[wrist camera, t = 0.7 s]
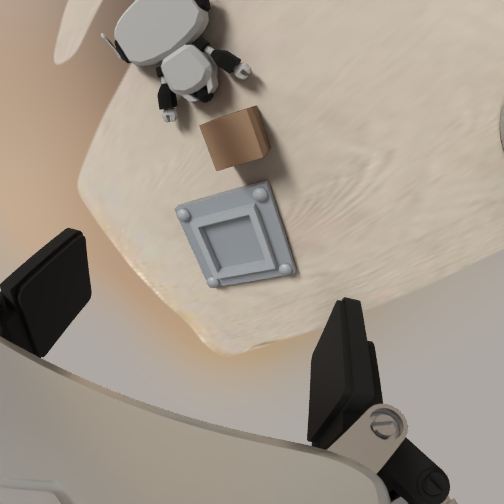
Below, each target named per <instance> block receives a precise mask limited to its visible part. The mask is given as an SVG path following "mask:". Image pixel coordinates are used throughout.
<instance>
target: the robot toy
mask: <svg viewBox="0 0 504 504" xmlns="http://www.w3.org/2000/svg"><path fill="white" fill-rule="evenodd" d="M210 9H211V8H210V3H209V0H136V1H135V2H134V3H133V4H132V5H131V6H130V7H129V8H128V9H127V10H126V11H125V12H124V14H123V15H122V16H121V18H120V19H119V21H118V23H117V25H116V28H115V39H116V40H115V46H116V48H115V47H114V46H113V45H112V43H111V42H110V41H109V40H108V38H107V37H106V35H105V34H103V33H101V36H102V37H103V38H104V39H105V40H106V41H107V42H108V44H109V45H110V46H111V47H112V48H113V50H114V51H115V52H116V53H117V56H118V57H119V58H122V59H123V60H124V61H126V62H127V63H133V64H135V65H137V66H146V65H154V64H158V63H160V62H162V65H161V67H157V68H156V71H157V76H158V77H161V82H162V84H161V87H160V89H159V92H158V102H159V109H164V111H163V114H162V117H163V119H164V121H165V122H170V117H171V122H174V121H175V120H176V119H177V112H176V110H175V109H174V108H173V107H176V106H178V105H177V98H176V94H177V95H181V96H183V97H184V98H185V99H187V100H188V101H189V102H191V101H198V100H200V101H201V102H204V103H206V102H209V101H211V99H212V98H213V93H212V92H215V90H216V89H217V87H218V86H219V84H218V79H217V73H218V68H217V66H219V67H220V68H222V69H224V70H225V71H227V72H228V73H232V72H233V73H234V74H235V76H236V78H238V79H241V80H244V79H246V78H247V77H248V76H246V75H244V74H243V73H241V72H242V71H243V70H244V71H246V72H247V73H248V74H250V73H251V67H250V66H249V65H248V64H246V63H240V62H241V59H239V58H238V57H236V56H235V55H233V54H231V53H230V52H228V51H225V50H215V49H213V48H211V47H210V43H209V42H208V41H206V40H204V39H202V38H199V39H198V40H197V41H196V43H195V44H194V45H191V44H192V43H193V42H194V41H195V40H196V39H197V38H198V37H199V36H200V35H201V34H202V33H203V32H204V30H205V29H206V27H207V24H208V22H209V17H208V11H209V10H210ZM209 54H210V55H211V56H210V55H209ZM211 57H212V58H211ZM169 115H170V116H169Z"/></svg>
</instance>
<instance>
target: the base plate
mask: <svg viewBox="0 0 504 504" xmlns="http://www.w3.org/2000/svg"><path fill="white" fill-rule="evenodd" d="M175 211H176V214H177V218H178V219H179V221H180V223H181V225H182V227H183V230H184V232H185V234H186V237H187V239H188V241H189V243H190V245H191V248H192V250H193V252H194V254H195V257H196V259H197V261H198V263H199V265H200V267H201V270H202V272H203V274H204V276H205V278H206V280H207V284H208V285H209V287H210V288H216V287H219V286H225V285H231V284H237V283H243V282H249V281H255V280H261V279H267V278H272V277H278V276H288V275H290V274H295V272H296V266H295V263H294V260H293V256H292V253H291V250H290V247H289V244H288V241H287V237H286V234H285V231H284V228H283V225H282V222H281V219H280V216H279V212H278V209H277V206H276V203H275V200H274V197H273V194H272V191H271V188H270V185H269V182H268V180H266V181H262V182H258V183H255V184H251V185H247V186H243V187H240V188H236V189H232V190H229V191H225V192H222V193H218V194H215V195H211V196H208V197H204V198H201V199H198V200H194V201H191V202H187V203H184V204H181V205H178V206H177V207H176V208H175Z"/></svg>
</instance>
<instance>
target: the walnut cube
mask: <svg viewBox="0 0 504 504" xmlns="http://www.w3.org/2000/svg"><path fill="white" fill-rule="evenodd" d="M199 126H200V129H201V132H202V134H203V137H204V140H205V142H206V145H207V148H208V150H209V153H210V156H211V158H212V161H213V163H214V166H215V169H216V171H219V170H223V169H226V168H229V167H232V166H236V165H239V164H243V163H246V162H249V161H253V160H256V159H260V158H263V157H264V156H265V155H266V153H267V152H268V151H269V149H270V148H271V146H270V143H269V141H268V138H267V135H266V132H265V129H264V126H263V123H262V120H261V117H260V114H259V111H258V109H257V106H253V107H250V108H247V109H244V110H241V111H238V112H235V113H232V114H229V115H226V116H223V117H220V118H217V119H215V120H212V121H209V122H207V123H204V124H202V125H199Z"/></svg>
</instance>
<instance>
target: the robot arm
mask: <svg viewBox="0 0 504 504" xmlns="http://www.w3.org/2000/svg"><path fill="white" fill-rule="evenodd" d="M500 133H501V140H502V145H503V148H504V104H503V107H502V111H501V117H500ZM0 288H1V292H0V504H457V502H456V501H455V499H452V500H450V498H449V497H448V494H449V490H450V484H449V479H448V477H447V475H446V474H445V473H444V471H443V470H442V469H440V468H439V467H438V466H437V465H436V464H435V463H434V462H432V461H431V460H430V459H429V458H428V457H427V456H426V455H425V454H424V453H423V452H421V451H420V450H419V449H418V448H417V447H416V446H415V445H414V444H413V443H412V442H410V441H409V440H408V439H407V438H406V435H407V431H408V425H407V421H406V419H405V417H404V415H403V414H402V413H401V412H400V411H399V410H398V409H397V408H395V407H393V406H391V405H387V404H383V399H382V392H381V385H380V378H379V371H378V365H377V358H376V352H375V346H374V344H373V342H370V341H367V337H366V332H365V325H364V319H363V313H362V307H361V302H360V301H359V300H354V299H350V298H346V297H344V298H343V299H342V301H340V300H337V301H336V303H335V306H334V308H333V310H332V312H331V315H330V317H329V319H328V322H327V324H326V326H325V328H324V331H323V333H322V335H321V337H320V339H319V342H318V344H317V346H316V348H315V350H314V352H313V355H312V360H311V380H310V400H309V418H308V433H307V440H308V441H310V442H312V446H309V445H304V444H299V443H295V442H290V441H285V440H280V439H275V438H270V437H265V436H260V435H256V434H252V433H248V432H243V431H239V430H235V429H231V428H227V427H223V426H219V425H215V424H211V423H207V422H204V421H200V420H197V419H193V418H190V417H187V416H183V415H180V414H177V413H173V412H170V411H167V410H164V409H161V408H158V407H155V406H152V405H150V404H146V403H144V402H141V401H138V400H135V399H133V398H130V397H127V396H125V395H122V394H120V393H117V392H114V391H112V390H109V389H107V388H104V387H102V386H100V385H97V384H95V383H93V382H90V381H88V380H85V379H83V378H81V377H79V376H77V375H75V374H72V373H70V372H68V371H66V370H64V369H62V368H59V367H57V366H55V365H53V364H51V363H49V362H47V361H45V360H43V359H41V357H44V356H45V355H46V354H47V353H48V352H49V350H50V349H51V348H52V346H53V345H54V344H55V342H56V341H57V340H58V339H59V337H60V336H61V335H62V334H63V332H64V331H65V330H66V328H67V327H68V326H69V325H70V323H71V322H72V321H73V320H74V318H75V317H76V316H77V314H78V313H79V312H80V311H81V310H82V308H83V307H84V306H85V305H86V304H87V303H88V301H89V300H90V298H91V284H90V277H89V268H88V260H87V251H86V239H85V237H84V236H83V234H82V232H81V231H78V230H75V229H71V228H67V229H65V230H64V231H63V232H61V233H60V234H59V235H58V236H56V237H55V238H54V239H52V240H51V241H50V242H49V243H48V244H46V245H45V246H44V247H43V248H41V249H40V250H39V251H38V252H36V253H35V254H34V255H33V256H32V257H30V258H29V259H28V260H27V261H26V262H25V263H24V264H22V265H21V266H20V267H19V268H18V269H17V270H15V271H14V272H13V273H12V274H11V275H10V276H9V277H8V278H6V279H5V280H4V281H3V282H2V283H1V284H0Z"/></svg>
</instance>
